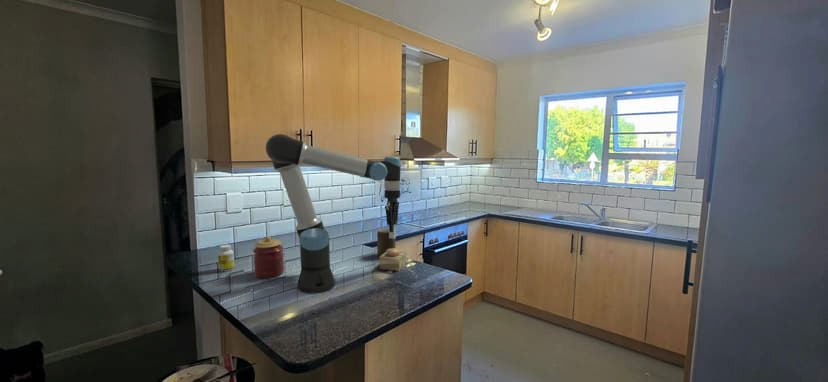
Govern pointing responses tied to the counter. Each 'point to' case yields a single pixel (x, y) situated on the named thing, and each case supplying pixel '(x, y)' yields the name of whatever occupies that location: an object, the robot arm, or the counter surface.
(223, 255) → the pill bottle
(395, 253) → the knob
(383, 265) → the housing
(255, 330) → the counter surface
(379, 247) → the pillar candle
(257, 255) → the canister
